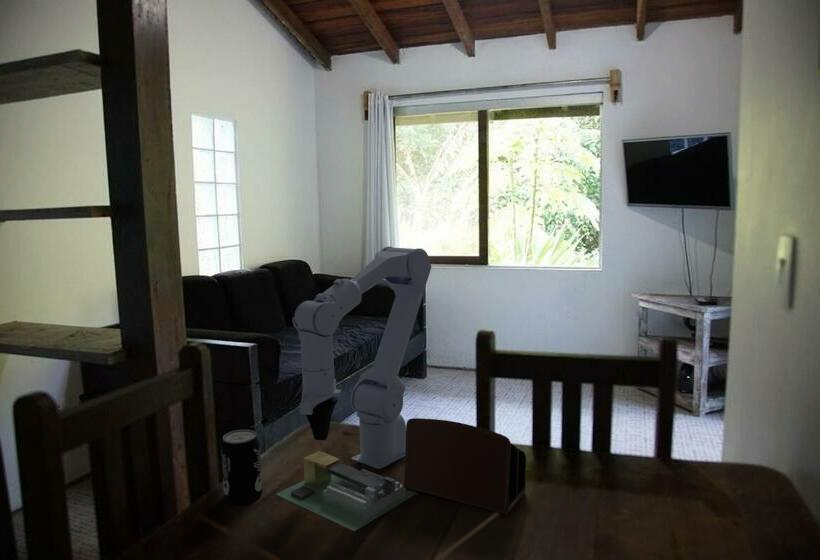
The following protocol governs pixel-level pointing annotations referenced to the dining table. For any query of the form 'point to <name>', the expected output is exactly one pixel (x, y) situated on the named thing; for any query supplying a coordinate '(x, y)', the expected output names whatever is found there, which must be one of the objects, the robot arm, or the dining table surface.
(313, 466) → the keeper
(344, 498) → the block
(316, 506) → the board
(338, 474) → the strap
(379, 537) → the dining table surface
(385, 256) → the robot arm
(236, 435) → the beverage can
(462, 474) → the letter holder
